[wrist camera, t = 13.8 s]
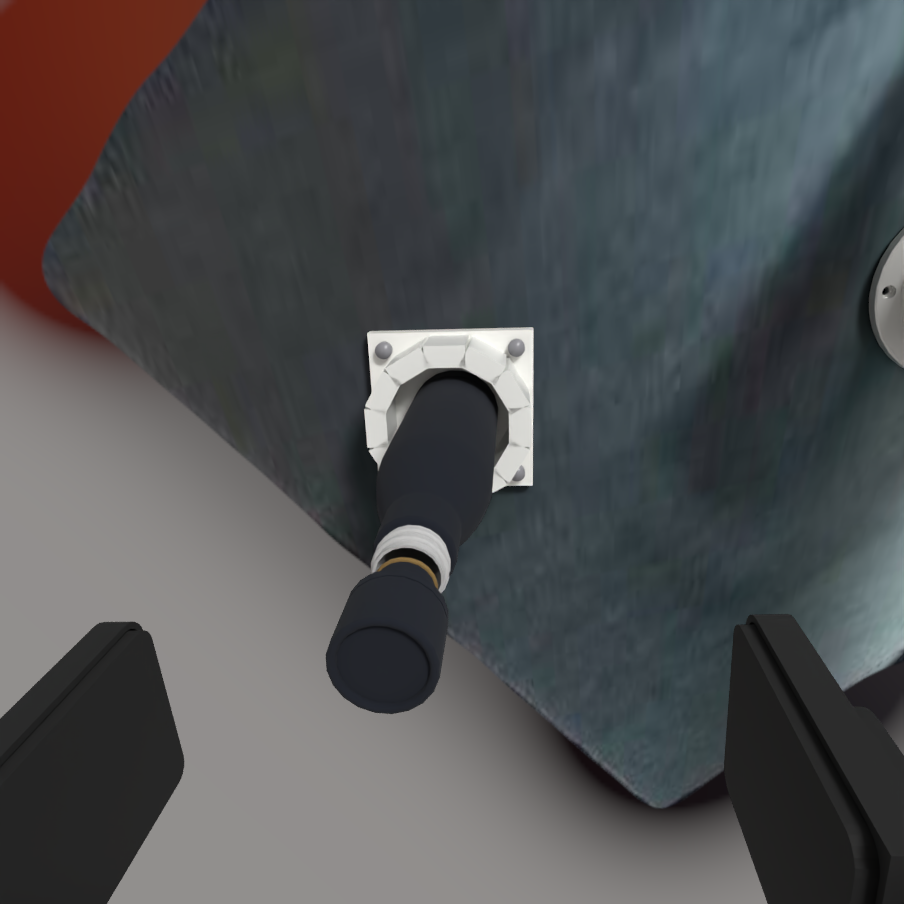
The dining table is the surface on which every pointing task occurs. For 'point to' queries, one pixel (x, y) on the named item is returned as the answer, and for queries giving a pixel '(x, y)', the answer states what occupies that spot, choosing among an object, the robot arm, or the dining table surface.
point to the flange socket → (471, 350)
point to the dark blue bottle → (417, 545)
